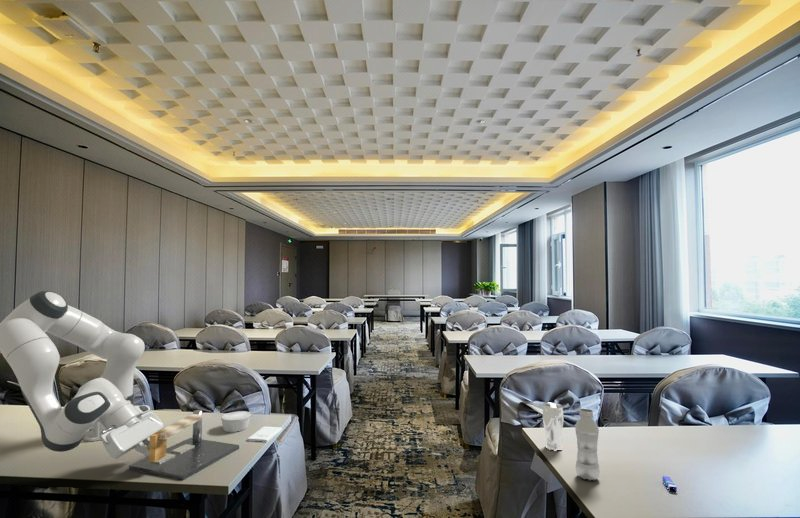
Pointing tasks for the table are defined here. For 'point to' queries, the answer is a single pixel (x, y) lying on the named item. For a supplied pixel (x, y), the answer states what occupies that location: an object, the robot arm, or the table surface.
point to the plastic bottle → (587, 446)
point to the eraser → (669, 483)
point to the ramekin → (235, 421)
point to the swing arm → (160, 438)
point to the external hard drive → (265, 434)
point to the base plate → (186, 456)
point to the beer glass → (553, 425)
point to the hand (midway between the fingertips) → (151, 453)
